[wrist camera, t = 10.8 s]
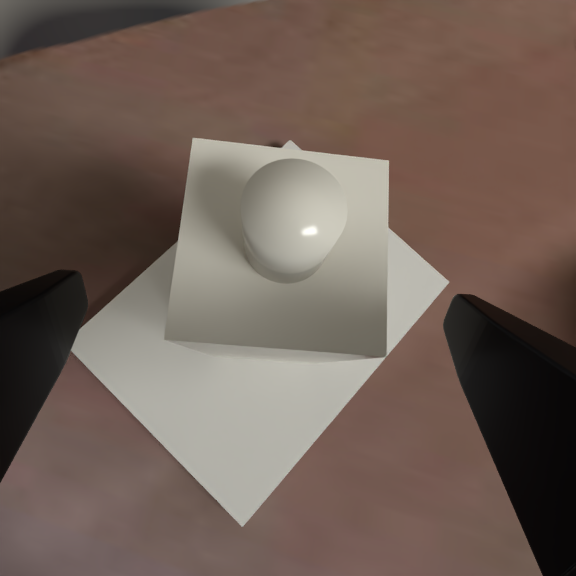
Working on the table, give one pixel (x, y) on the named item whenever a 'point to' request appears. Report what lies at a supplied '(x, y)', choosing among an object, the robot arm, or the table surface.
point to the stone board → (234, 382)
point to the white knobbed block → (281, 255)
